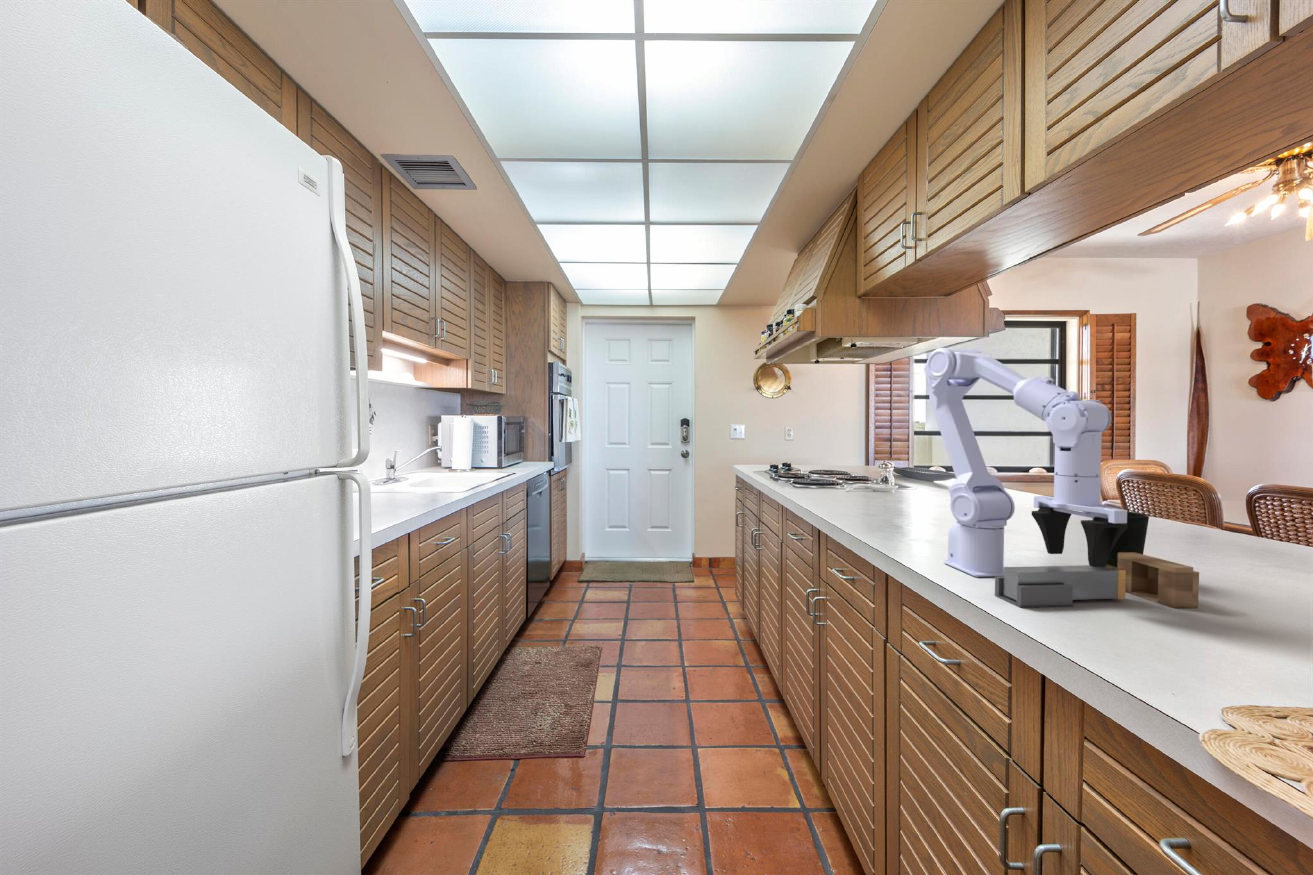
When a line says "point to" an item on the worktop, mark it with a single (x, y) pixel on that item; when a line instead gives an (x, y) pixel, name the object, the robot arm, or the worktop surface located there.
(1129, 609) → the worktop surface
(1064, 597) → the grey u-shaped channel
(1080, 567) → the bar
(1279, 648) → the worktop surface
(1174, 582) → the socket
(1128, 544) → the cup
